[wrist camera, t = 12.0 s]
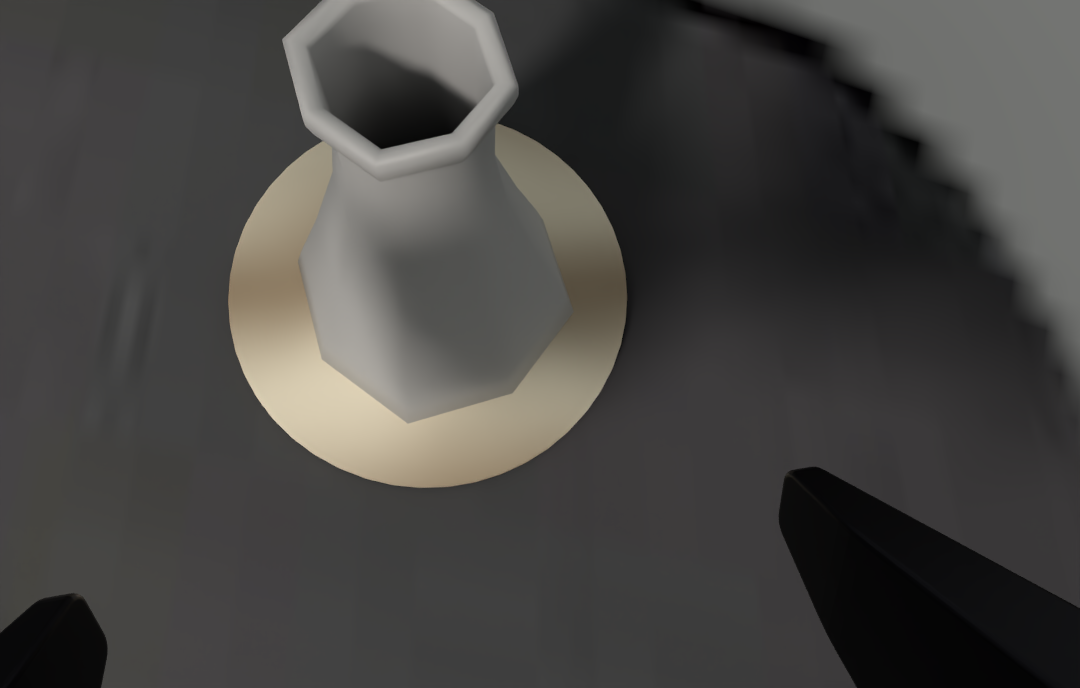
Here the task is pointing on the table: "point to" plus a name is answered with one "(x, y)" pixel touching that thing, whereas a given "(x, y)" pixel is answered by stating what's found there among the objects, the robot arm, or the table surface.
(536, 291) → the flask
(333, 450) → the coaster
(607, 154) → the table surface
